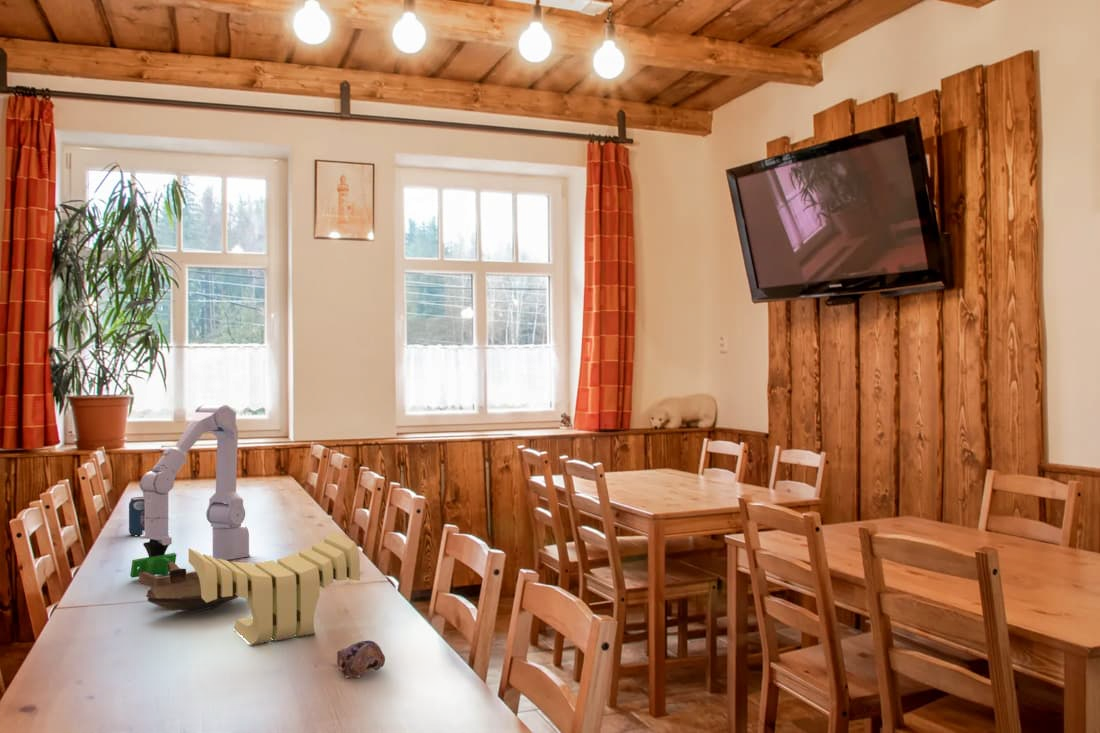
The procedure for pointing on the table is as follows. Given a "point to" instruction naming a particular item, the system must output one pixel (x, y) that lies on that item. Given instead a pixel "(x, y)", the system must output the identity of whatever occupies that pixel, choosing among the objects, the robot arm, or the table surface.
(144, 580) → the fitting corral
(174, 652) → the table surface
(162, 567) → the pipe clamp
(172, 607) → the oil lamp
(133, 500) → the soda can
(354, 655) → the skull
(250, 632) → the slatted curved stool
